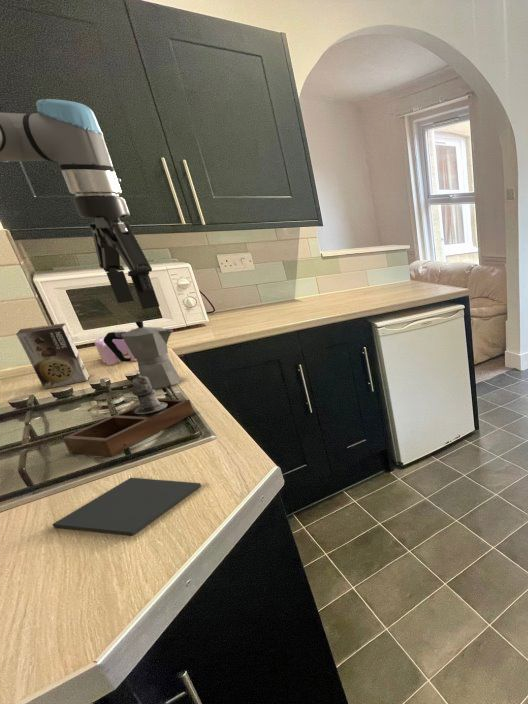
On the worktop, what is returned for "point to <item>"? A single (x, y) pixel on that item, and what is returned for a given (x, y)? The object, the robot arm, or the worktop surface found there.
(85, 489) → the worktop surface
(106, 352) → the clip
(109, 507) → the mat
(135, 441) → the brown shallow rectangular box
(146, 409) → the grey chess piece
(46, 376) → the cookie mix box
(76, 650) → the worktop surface
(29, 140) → the robot arm
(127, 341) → the coffeepot
